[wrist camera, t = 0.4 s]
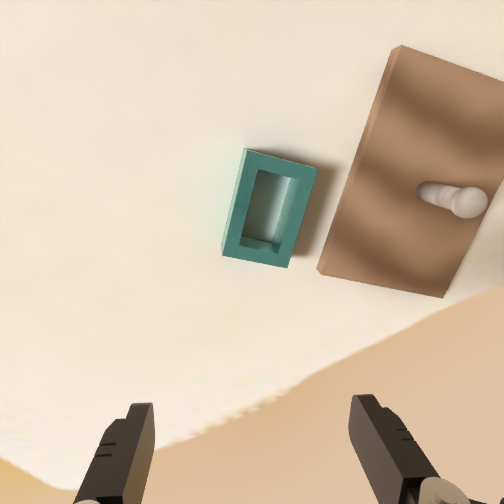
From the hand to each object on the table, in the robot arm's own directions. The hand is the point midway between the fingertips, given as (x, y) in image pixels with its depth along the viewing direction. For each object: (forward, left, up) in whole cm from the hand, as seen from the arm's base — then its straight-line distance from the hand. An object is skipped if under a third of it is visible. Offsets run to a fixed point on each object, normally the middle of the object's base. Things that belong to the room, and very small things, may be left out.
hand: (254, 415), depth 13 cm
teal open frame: (-5, +2, -19) cm, 20 cm away
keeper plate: (-10, +16, -19) cm, 27 cm away
